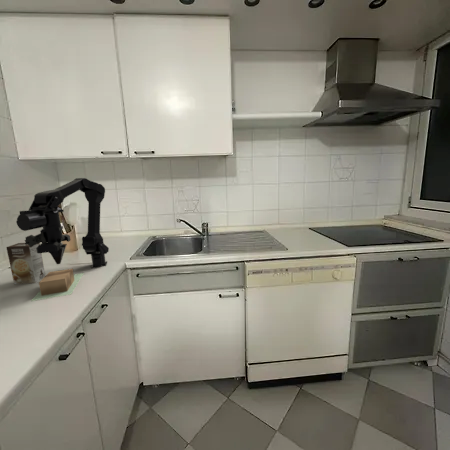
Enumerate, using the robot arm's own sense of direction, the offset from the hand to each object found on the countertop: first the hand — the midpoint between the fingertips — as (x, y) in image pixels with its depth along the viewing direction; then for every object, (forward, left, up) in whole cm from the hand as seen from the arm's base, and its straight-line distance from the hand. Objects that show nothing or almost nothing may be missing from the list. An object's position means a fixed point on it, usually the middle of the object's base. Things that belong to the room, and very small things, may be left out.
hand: (58, 263), depth 93 cm
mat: (+2, 0, -8) cm, 9 cm away
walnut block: (-1, 0, -6) cm, 6 cm away
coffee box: (-10, -14, -9) cm, 19 cm away
